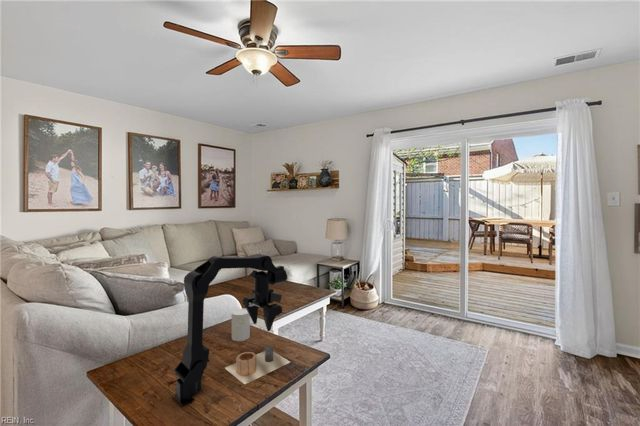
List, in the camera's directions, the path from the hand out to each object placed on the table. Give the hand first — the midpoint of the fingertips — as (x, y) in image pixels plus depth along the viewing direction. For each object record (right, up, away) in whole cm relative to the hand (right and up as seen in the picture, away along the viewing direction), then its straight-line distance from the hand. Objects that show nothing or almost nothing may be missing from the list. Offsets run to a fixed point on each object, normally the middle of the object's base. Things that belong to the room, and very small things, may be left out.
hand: (261, 327), depth 115 cm
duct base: (-1, -15, -3) cm, 15 cm away
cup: (-14, -14, +23) cm, 31 cm away
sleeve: (-4, -13, -6) cm, 15 cm away
